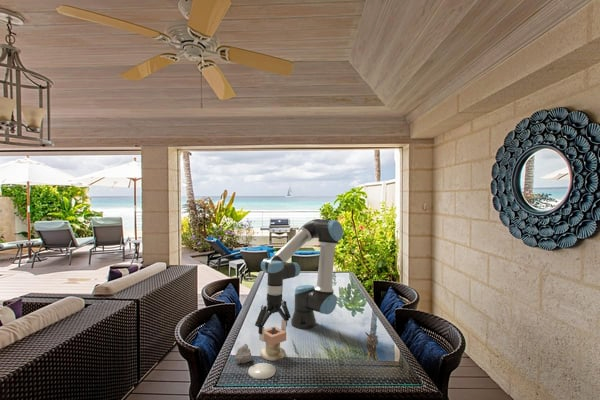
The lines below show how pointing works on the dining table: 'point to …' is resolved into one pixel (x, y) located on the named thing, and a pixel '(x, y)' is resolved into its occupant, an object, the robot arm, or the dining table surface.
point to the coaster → (262, 371)
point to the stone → (243, 354)
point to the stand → (272, 351)
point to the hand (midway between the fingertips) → (272, 336)
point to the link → (274, 336)
